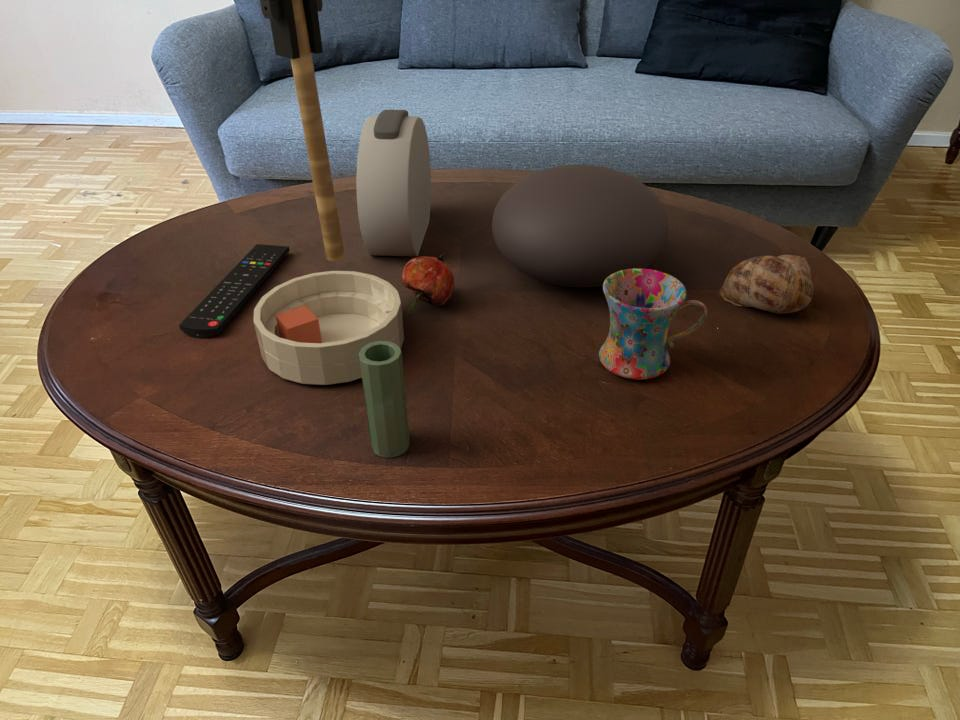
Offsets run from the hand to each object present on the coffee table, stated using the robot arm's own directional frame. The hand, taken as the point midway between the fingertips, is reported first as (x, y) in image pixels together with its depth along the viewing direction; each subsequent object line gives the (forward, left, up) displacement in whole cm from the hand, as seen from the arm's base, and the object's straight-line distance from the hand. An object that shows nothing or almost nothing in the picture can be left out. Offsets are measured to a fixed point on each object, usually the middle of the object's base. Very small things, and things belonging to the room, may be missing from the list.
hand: (299, 53), depth 67 cm
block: (-2, +7, -35) cm, 36 cm away
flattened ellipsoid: (+37, -8, -36) cm, 52 cm away
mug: (+23, -28, -36) cm, 51 cm away
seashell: (+46, -33, -36) cm, 67 cm away
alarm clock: (+28, +20, -36) cm, 50 cm away
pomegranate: (+16, +2, -36) cm, 40 cm away
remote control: (+1, +25, -36) cm, 44 cm away
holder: (-7, -15, -36) cm, 40 cm away
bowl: (+1, +4, -36) cm, 36 cm away
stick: (0, -1, -21) cm, 21 cm away
